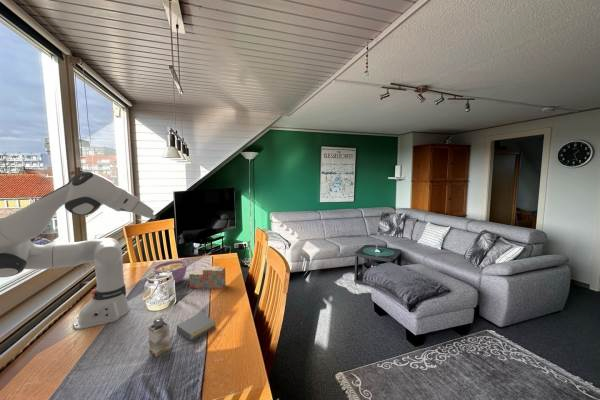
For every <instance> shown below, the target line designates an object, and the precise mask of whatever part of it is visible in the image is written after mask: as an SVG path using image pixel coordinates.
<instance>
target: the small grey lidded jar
mask: <svg viewBox="0 0 600 400" xmlns="http://www.w3.org/2000/svg"><path fill="white" fill-rule="evenodd" d="M163 324H164V327H162V328H159V329H157V330H154V323H152V324H151V325H148V327H147V329H148V341H149V342H148V343H149V347H148V351H149V352H151V354H152V355H154V357H155V358H157V357H158V356H161V355H163V354H164V353H165V352H167V351H169V350H171V349H172V344H171V333H170V332H171V331H170V324H169V323H168V322H166V321H165V320H164V319H163Z"/></svg>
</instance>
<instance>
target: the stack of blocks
mask: <svg viewBox="0 0 600 400" xmlns="http://www.w3.org/2000/svg"><path fill="white" fill-rule="evenodd" d="M188 277H189V288H190V289H205V290H206V289H209V290H210V289H212V290H223V289H224V288H225V286H226V282H227V281H226V267H225V266H206V267H205V268H204V269H202V270H193V271H192V272H190V273H189V274H188Z"/></svg>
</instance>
